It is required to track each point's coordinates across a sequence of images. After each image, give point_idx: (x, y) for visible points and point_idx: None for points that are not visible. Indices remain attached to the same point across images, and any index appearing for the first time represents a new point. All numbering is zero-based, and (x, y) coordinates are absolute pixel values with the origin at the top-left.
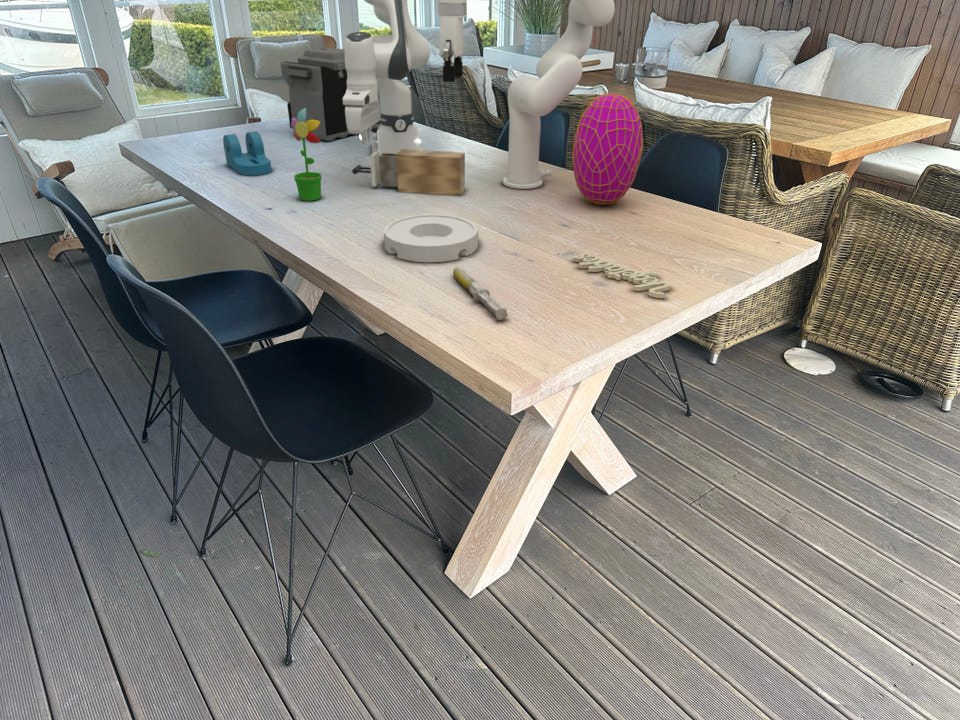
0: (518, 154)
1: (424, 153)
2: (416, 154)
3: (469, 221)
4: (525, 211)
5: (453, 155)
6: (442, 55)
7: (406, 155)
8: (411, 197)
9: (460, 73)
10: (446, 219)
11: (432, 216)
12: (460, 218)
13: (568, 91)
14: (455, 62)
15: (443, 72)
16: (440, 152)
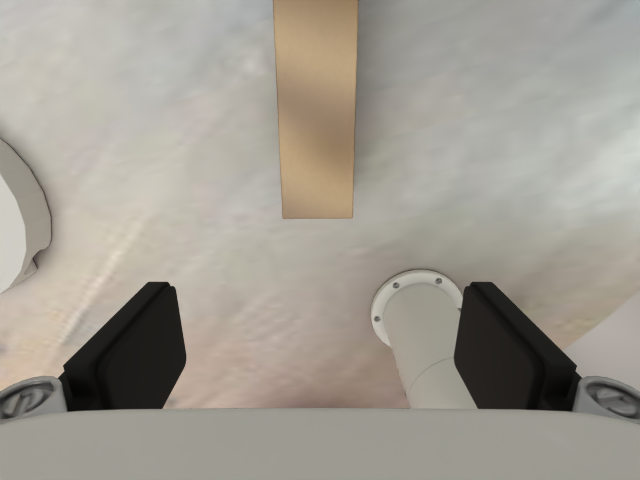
0: (398, 351)
1: (309, 81)
2: (288, 53)
3: (9, 280)
4: (224, 338)
5: (307, 191)
6: (178, 426)
7: (274, 12)
8: (243, 66)
9: (464, 370)
10: (7, 229)
11: (6, 195)
12: (16, 259)
13: None
14: (520, 408)
15: (109, 324)
16: (336, 137)
